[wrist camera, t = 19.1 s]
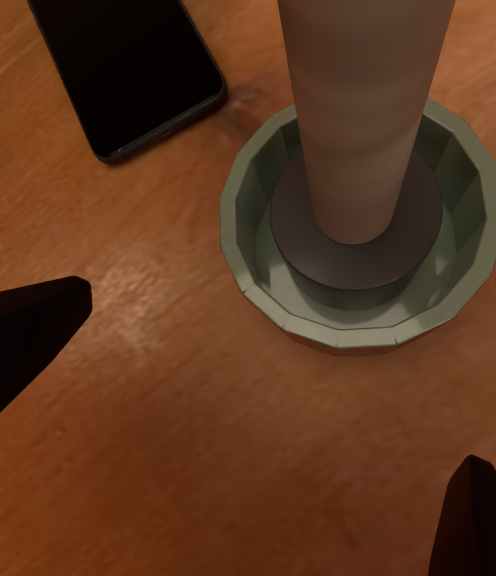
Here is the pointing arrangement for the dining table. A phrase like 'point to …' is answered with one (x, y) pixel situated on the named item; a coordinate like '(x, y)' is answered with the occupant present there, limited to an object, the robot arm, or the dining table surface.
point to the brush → (358, 147)
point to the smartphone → (129, 69)
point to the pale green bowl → (426, 282)
